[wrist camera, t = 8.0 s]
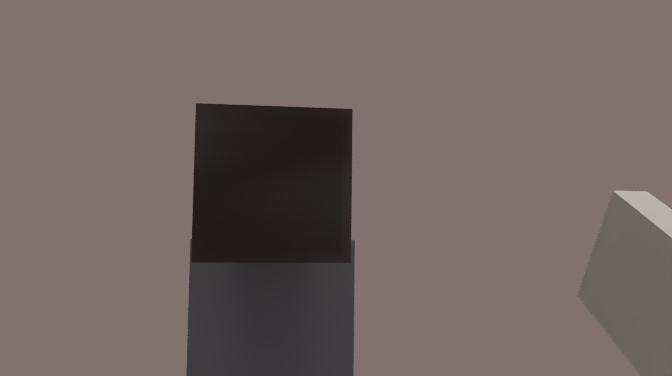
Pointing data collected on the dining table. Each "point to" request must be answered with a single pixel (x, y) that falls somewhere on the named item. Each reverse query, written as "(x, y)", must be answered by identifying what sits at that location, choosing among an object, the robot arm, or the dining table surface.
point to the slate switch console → (271, 319)
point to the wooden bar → (272, 184)
